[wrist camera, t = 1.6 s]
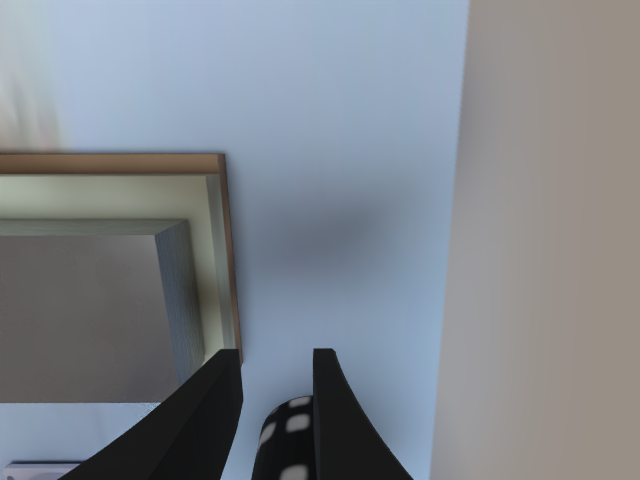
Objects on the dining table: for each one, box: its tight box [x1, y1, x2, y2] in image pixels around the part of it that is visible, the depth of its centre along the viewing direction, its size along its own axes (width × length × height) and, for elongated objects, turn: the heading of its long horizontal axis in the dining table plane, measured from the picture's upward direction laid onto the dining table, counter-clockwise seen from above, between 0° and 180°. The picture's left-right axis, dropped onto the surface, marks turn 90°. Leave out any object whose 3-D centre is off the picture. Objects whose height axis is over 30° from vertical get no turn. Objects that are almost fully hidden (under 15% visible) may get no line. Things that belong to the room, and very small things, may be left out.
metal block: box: [0, 219, 205, 403], centre depth 14 cm, size 8×12×3 cm, turn 90°
